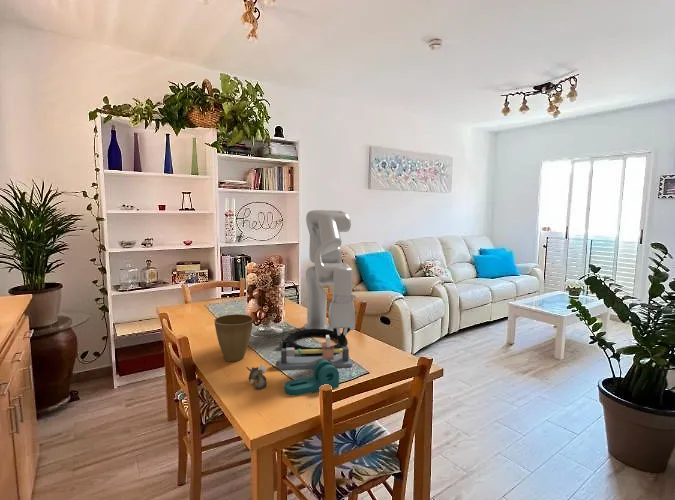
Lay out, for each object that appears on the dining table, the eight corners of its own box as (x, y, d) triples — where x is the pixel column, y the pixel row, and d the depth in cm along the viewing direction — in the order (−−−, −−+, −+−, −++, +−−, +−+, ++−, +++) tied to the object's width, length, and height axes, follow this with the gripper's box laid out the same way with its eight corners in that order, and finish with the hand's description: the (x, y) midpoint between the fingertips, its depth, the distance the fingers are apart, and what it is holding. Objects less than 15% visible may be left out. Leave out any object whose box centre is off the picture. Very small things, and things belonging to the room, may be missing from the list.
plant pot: (258, 361, 148) (258, 321, 146) (219, 368, 141) (218, 327, 139) (247, 348, 161) (247, 311, 159) (211, 354, 154) (210, 316, 152)
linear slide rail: (278, 360, 149) (278, 345, 148) (348, 358, 153) (348, 343, 152) (278, 369, 141) (278, 353, 140) (351, 366, 145) (352, 350, 144)
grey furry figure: (240, 377, 132) (243, 384, 123) (251, 358, 133) (254, 364, 125) (259, 386, 134) (263, 394, 125) (269, 368, 135) (274, 374, 127)
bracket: (331, 379, 135) (331, 358, 134) (338, 387, 128) (339, 365, 128) (282, 388, 127) (282, 366, 126) (287, 397, 121) (287, 374, 120)
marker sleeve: (322, 355, 150) (322, 335, 149) (332, 354, 150) (332, 334, 149) (323, 360, 145) (323, 339, 144) (333, 359, 145) (333, 339, 144)
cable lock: (357, 345, 158) (286, 352, 149) (356, 354, 159) (286, 362, 149) (335, 325, 184) (274, 330, 174) (335, 332, 185) (274, 338, 175)
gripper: (359, 295, 150) (358, 340, 152) (322, 296, 148) (321, 341, 150) (363, 300, 143) (361, 347, 145) (324, 301, 141) (323, 348, 143)
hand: (341, 344), depth 148 cm, fingers closed
